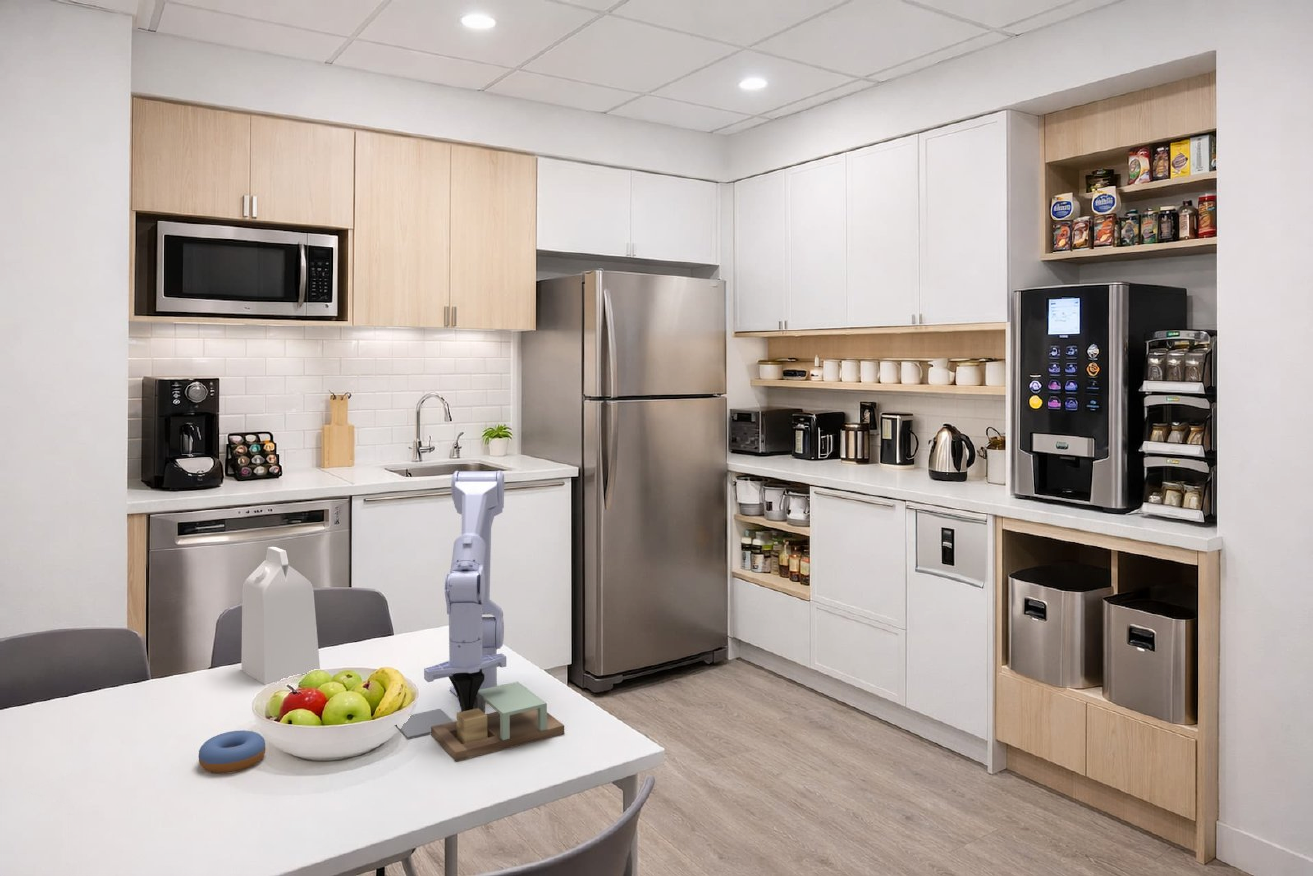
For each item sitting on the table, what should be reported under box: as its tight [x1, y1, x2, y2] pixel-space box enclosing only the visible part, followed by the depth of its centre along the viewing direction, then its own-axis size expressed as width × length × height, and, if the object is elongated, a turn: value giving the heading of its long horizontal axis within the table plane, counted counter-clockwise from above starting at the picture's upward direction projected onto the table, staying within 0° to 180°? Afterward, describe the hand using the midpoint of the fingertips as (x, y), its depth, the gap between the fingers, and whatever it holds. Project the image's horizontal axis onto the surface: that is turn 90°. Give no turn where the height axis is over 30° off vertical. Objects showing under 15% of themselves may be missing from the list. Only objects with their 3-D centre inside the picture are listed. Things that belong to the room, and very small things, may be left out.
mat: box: [399, 708, 454, 740], centre depth 158 cm, size 9×9×1 cm
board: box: [430, 709, 565, 762], centre depth 154 cm, size 12×20×2 cm, turn 123°
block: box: [456, 708, 488, 744], centre depth 151 cm, size 4×4×5 cm
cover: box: [473, 681, 548, 740], centre depth 155 cm, size 12×9×5 cm
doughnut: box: [198, 730, 267, 774], centre depth 143 cm, size 10×10×5 cm
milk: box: [240, 546, 321, 686], centre depth 184 cm, size 12×12×26 cm
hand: (466, 712), depth 155 cm, fingers closed
